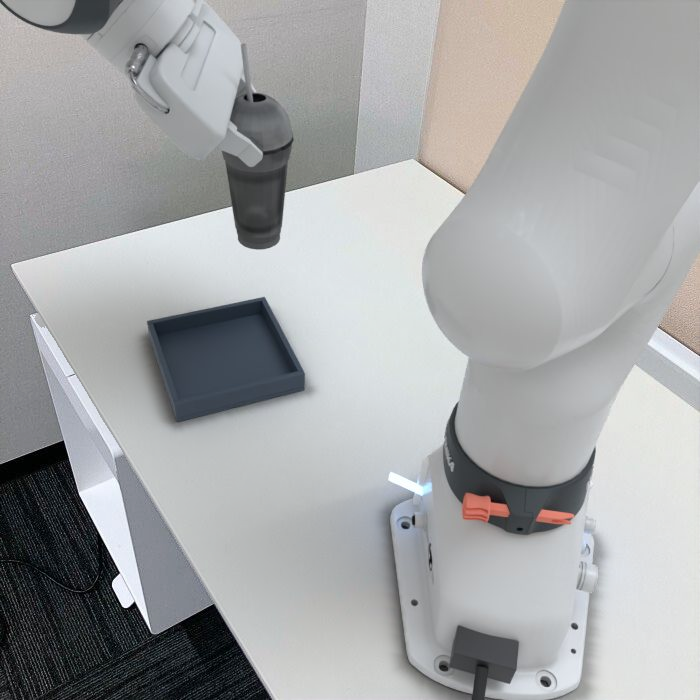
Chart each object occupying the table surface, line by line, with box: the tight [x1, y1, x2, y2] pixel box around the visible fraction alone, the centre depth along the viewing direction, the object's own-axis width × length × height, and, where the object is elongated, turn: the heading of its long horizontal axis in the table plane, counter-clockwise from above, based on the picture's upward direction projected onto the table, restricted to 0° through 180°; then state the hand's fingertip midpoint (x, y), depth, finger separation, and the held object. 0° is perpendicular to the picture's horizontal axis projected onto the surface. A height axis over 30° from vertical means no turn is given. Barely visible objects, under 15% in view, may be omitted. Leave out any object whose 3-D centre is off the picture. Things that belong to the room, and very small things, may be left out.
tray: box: [146, 296, 306, 423], centre depth 83 cm, size 14×14×3 cm
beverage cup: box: [220, 43, 295, 251], centre depth 72 cm, size 7×7×20 cm
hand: (262, 138), depth 71 cm, fingers closed on beverage cup, 7 cm apart
